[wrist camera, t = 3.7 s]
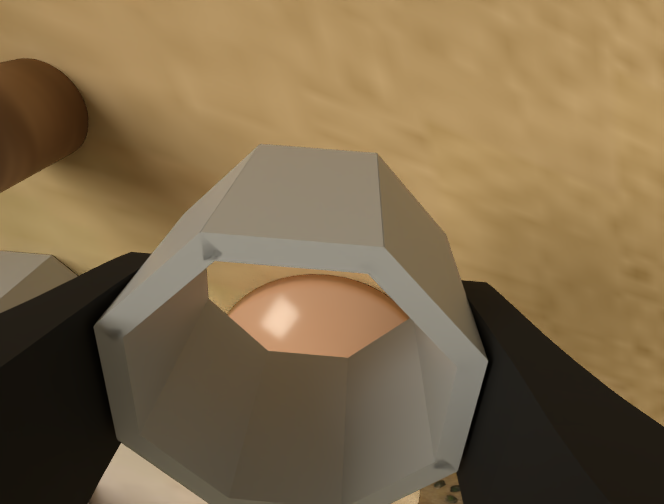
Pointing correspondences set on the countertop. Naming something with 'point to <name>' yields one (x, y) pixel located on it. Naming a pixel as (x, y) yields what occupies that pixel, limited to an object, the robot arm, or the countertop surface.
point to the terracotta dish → (316, 315)
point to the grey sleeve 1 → (28, 277)
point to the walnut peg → (37, 119)
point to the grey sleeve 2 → (294, 368)
